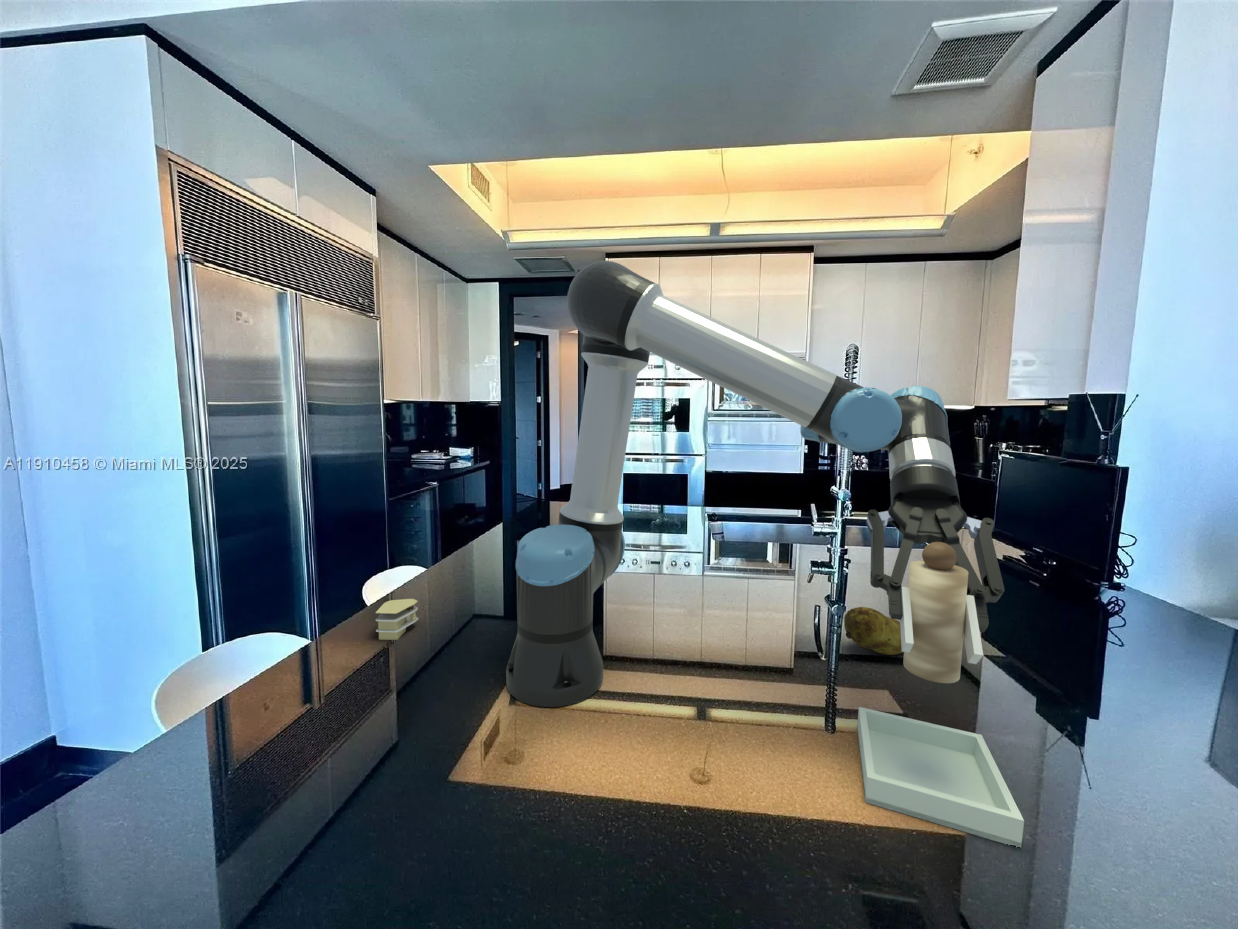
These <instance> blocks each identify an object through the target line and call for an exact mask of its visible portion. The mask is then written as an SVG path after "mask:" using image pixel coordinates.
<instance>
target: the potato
mask: <svg viewBox="0 0 1238 929" xmlns="http://www.w3.org/2000/svg"><path fill="white" fill-rule="evenodd" d="M843 619H844V620H843V621H844V629H845V637H846V638H848V639H849V640H852V641H853V642H854V643H855V644H856V645H857V646H858V647H861V648H865V649H869V650H872V651H874V652H876V653H878V654H881V655H886V656H894V655H898V654H902V653H903V652H902V647H901V631H900V620H898V619H891V617H890V616H886V615H885V614H884V613H882V612H880V611H879V610H877V609H874V608H871V607H868V606H858V607H854V608H851V609H850V610H847V611H846V613H845V614H844V617H843Z"/></svg>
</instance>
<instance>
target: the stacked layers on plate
mask: <svg viewBox="0 0 1238 929" xmlns="http://www.w3.org/2000/svg"><path fill="white" fill-rule="evenodd" d="M416 603H418V600H416V599H415V598H403V599H392V600H388V601H387V600H386V601H385V602H384V603H383V604H382V605H381V606H380V607H379V608H378V609H377V611H375V614H379V615H378V616H377V617H376V618H375V621H376V622H377V624H378V627H377V629H376V630H375V632H377V633H378V640H383V641H384V640H385V641H389V640H390V641H397V640H399V638H400V637H401V636H402V635H403V634H405V633H406V631H407V628H408V627H409V626H411V625H412V624H414V623H416V622H417V621H418V620H419V617H418V616H417V615H416V614H417V613H416V612H417V611H418V609H419V607H417V606H416V605H415V604H416Z"/></svg>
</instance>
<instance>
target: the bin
mask: <svg viewBox="0 0 1238 929" xmlns="http://www.w3.org/2000/svg"><path fill="white" fill-rule="evenodd" d="M857 714H858V716H857V724H856V725H857V726H856V728H857V738H858V746H859V755H860V764H861V765H860V766H861V773H862V774H861V775H862V783H863V784H862V785H863V792H864V802H865V803H867V804H871V805H873V806H876V807H880V808H882V809H887V810H889V811H890V810H891V811H893V812H897V813H901V814H904V815H907V816H910V817H914V818H918V819H920V820H924V821H927V822H930V823H933V824H937V825H940V826H943V827H947V828H950V829H953V830H957V831H961V832H964V833H967V834H971V835H973V836H977V837H980V838H984V839H987V840H991V841H994V842H997V843H1000V844H1004V845H1007V844H1008V845H1007V846H1010V845H1016V847H1015V848H1017V847H1020V848H1021V849H1022V842H1023V835H1024V825H1025V820H1024V818H1023V815H1022V814H1021V811H1020V809H1019V808H1018V806H1017V804H1016V801H1015V800H1014V797H1013V795H1012V793H1011V791H1010V789H1009V787H1008V785H1007V783H1006V781H1005V779H1004V777H1003V776H1002V773H1001V771H1000V768H999V767H998V765H997V763H996V760H995V759H994V758H993V755H992V753H991V752H990V749H989V747H988V745H987V743H986V741H985V739H984V737H983V735H982V734H979V733H975V732H971V731H966V730H961V729H958V728H953V727H948V726H945V725H939V724H935V723H931V722H928V721H922V720H919V719H914V718H911V717H905V716H901V715H897V714H893V713H887V712H883V711H878V710H875V709H870V708H865V707H861V706H858V712H857ZM1020 848H1019V849H1020Z"/></svg>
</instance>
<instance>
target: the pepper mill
mask: <svg viewBox="0 0 1238 929" xmlns="http://www.w3.org/2000/svg"><path fill="white" fill-rule="evenodd" d="M921 557H922V560H913V561H911V562H910V563H909V572H908V573H909V575H908V588H909V592H910V601H911V615H912V628H913V641H914V644H913V647H912V649H911V651H910V653H908V652H903V662H902V664H903V667H904V668H905V669H906V670H907V671H908V672H909V673H911V674H912V675H914V676H916V677H918V678H921V679H923V680H926V681H930V682H934V683H940V684H954V683H957V682H959V680H960V679H961V667H962V656H963V644H964V621H965V609H966V596H967V584H968V571H967V570H966V569H964V568H962V567H959V566H956V565H955V564H956V561H957V555H956V552H955V551H954V549H953V548H952V547H951V546H949V545H948V544H946V543H943V542H933V543H930V544H929V543H927V545H926V546H925V547H924V548H923V550H922V553H921Z"/></svg>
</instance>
